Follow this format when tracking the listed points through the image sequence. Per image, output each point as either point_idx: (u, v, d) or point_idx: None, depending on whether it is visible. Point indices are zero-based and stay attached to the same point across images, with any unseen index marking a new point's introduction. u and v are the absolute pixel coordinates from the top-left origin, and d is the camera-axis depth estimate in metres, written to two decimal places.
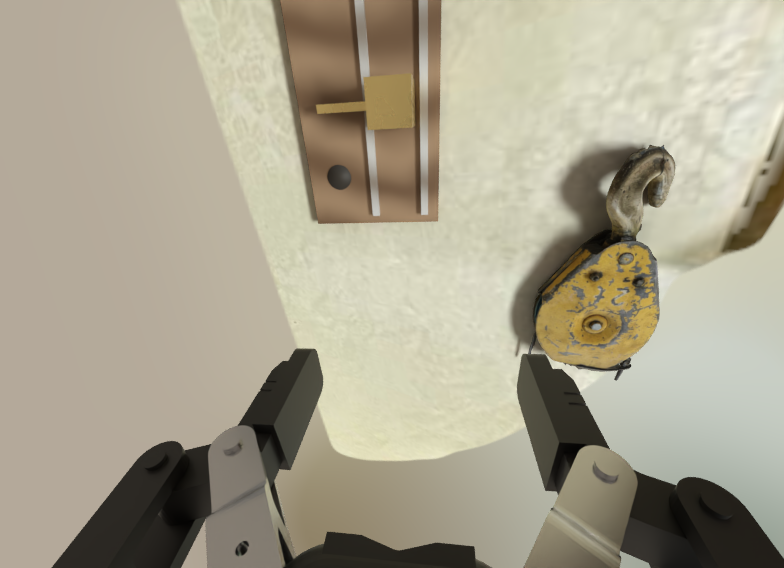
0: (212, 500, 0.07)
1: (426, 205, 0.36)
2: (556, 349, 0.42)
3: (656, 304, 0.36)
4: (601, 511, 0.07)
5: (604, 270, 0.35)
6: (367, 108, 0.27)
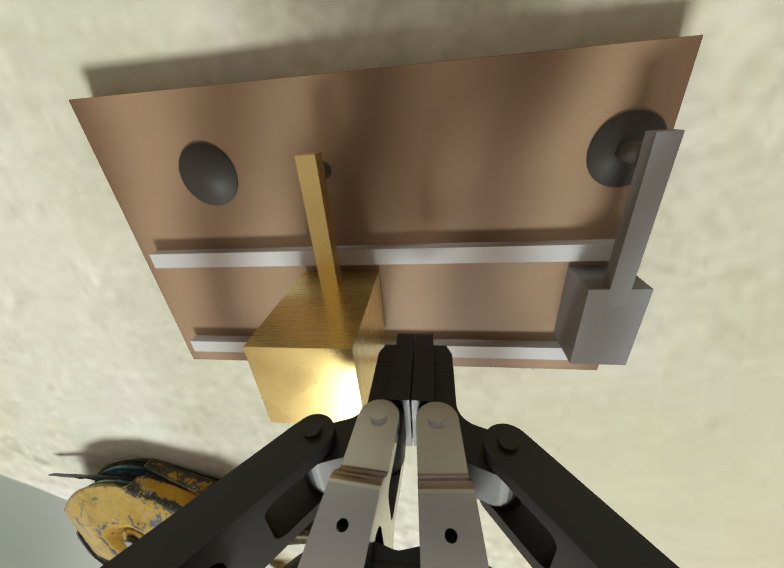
0: (345, 456, 0.08)
1: (209, 349, 0.20)
2: (77, 514, 0.30)
3: None
4: (447, 454, 0.08)
5: None
6: (288, 350, 0.11)
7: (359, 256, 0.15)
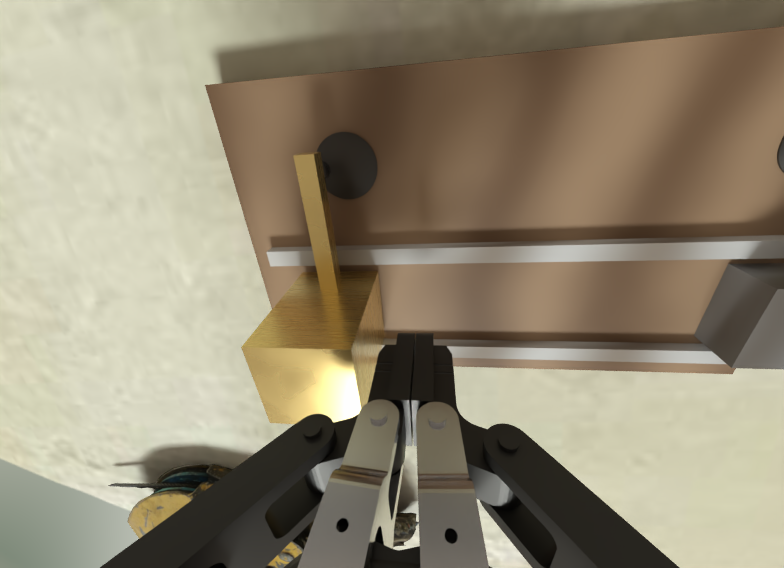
0: (345, 456, 0.08)
1: None
2: (141, 524, 0.29)
3: None
4: (447, 454, 0.08)
5: None
6: (287, 351, 0.11)
7: (502, 253, 0.14)
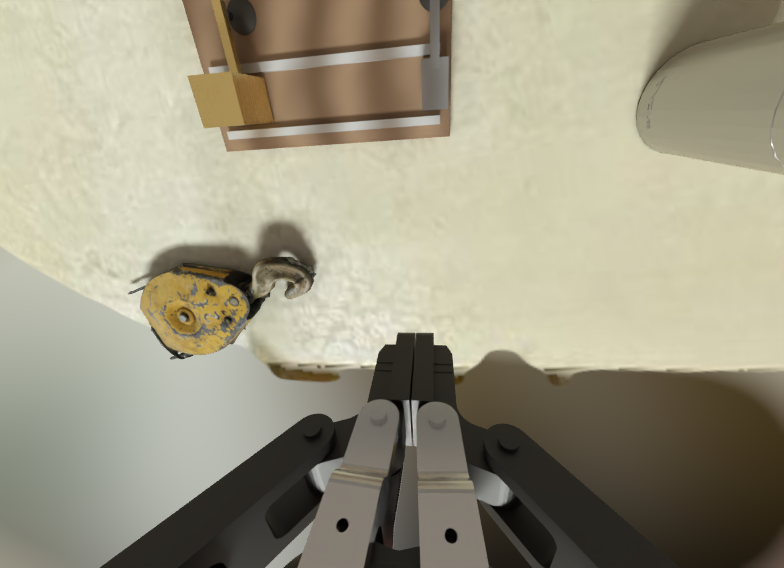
0: (345, 456, 0.08)
1: (237, 137, 0.34)
2: (148, 305, 0.45)
3: (226, 341, 0.46)
4: (447, 454, 0.08)
5: (218, 294, 0.42)
6: (206, 76, 0.27)
7: (317, 60, 0.30)
